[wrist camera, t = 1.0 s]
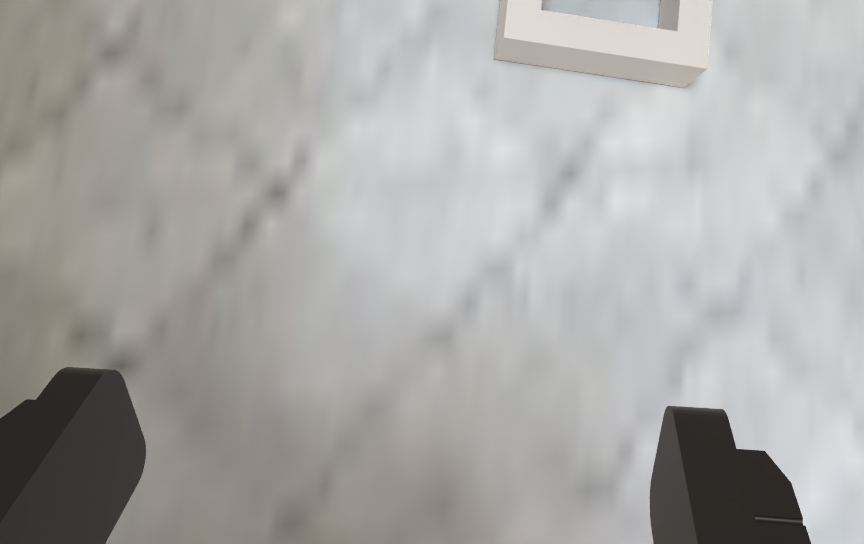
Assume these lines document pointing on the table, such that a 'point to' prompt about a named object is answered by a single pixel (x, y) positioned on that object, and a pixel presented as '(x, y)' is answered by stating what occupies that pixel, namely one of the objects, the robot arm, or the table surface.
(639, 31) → the chute
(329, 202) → the table surface
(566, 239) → the table surface
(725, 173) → the table surface
